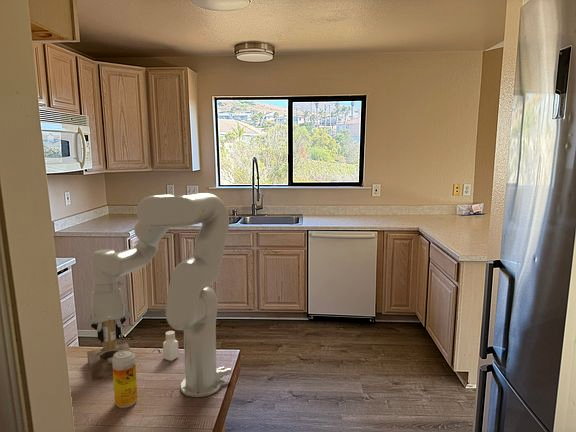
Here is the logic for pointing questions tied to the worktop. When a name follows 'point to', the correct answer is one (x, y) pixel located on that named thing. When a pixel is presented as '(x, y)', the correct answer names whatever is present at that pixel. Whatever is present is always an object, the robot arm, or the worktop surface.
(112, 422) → the worktop surface
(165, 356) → the pepper shaker
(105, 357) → the open brown cardboard box
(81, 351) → the worktop surface
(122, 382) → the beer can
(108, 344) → the sprinkles bottle
